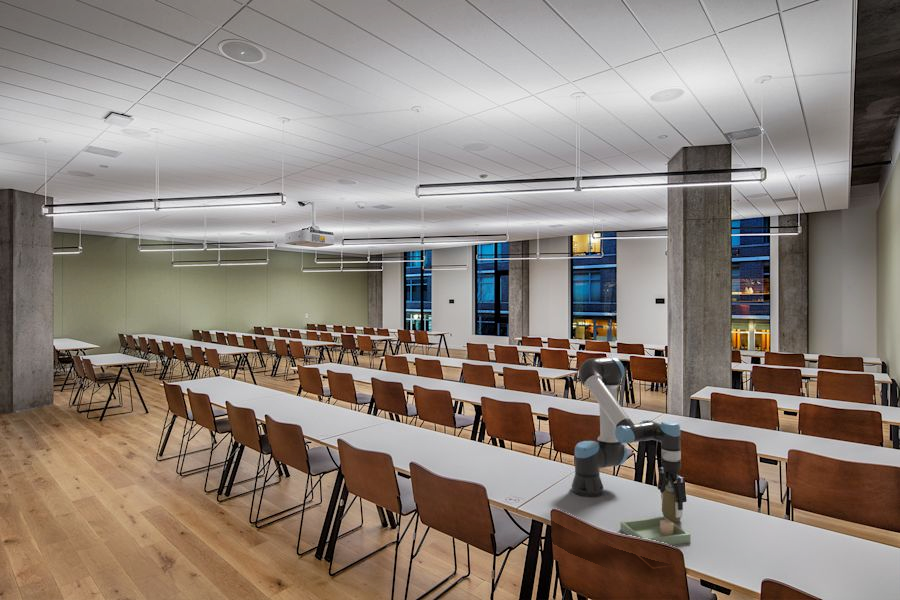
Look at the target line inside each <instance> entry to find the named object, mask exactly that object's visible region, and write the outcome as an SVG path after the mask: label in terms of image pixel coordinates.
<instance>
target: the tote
mask: <svg viewBox="0 0 900 600" xmlns="http://www.w3.org/2000/svg"><path fill="white" fill-rule="evenodd" d="M661 520H668V519H667V518H665V517H664V516H658V517H650V518H649V517H648V518H642V519H633V520H626V521H620V522H619V523H620V524H619V525H620V531H622V532H623V533H624V534H626V535H627V534H628V535H632V536H636V537H640V538H648V539H651V540H656V541H659V542H664V543H667V544H671V545H670V546H674V545H681V544H687V543H691V533H689V532H687V531H686V530H685V529H683V528H682V527H680V526H678V525H677V524H675V523H674V535H671V536H663V535H661V534H660V521H661ZM669 521H670V520H669ZM628 535H627V536H628Z"/></svg>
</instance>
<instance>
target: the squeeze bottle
mask: <svg viewBox="0 0 900 600" xmlns="http://www.w3.org/2000/svg"><path fill="white" fill-rule="evenodd" d="M675 501H677V500H676V496H675V493H674V489H673V485H671V482H670V481H669V484H668V485H666V490H664V491H663V500H662V499H661V512H662V513H661V514H662V515H663V516H662V517H665V518H667V519H668V520H670V521H672V522H673V523H679V522H680V521H681V519H682V517H679V518H676V515H675Z"/></svg>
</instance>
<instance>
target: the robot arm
mask: <svg viewBox="0 0 900 600" xmlns="http://www.w3.org/2000/svg"><path fill="white" fill-rule="evenodd" d="M578 375H579V380H580V382H581V384H582V385H583V386H584V389H586V390H589V393H591V395H592V396H593V397H594V399H595V400H596V402H597V404H598V405H599V426H600V427H599V431H600V435H599V436H598V437H597V441H595V440H583V441H579V442H578V443H576V445H575V447H574V453H573V454H574V476H573V480H572V482H571V491H572V493H574V494H575V493H576V495H578V496H581V497H588V498H590V497H591V498H592V497H593V498H594V497H599V496H602V495H603V494H604V485H603V482H602V479H601V476H600V469H605V468H609V467H618V466H621V465H623V464H624V463H625V462H626V461H627V459H628V449H627V447H626V444H632V443H637V442H646V441H652V440H653V441H657V442H658V443H659V442H660V446H661V447H660V448H661V450H660V451H661V461H660V462H661V467H659V468H658V479H657V480H658V482H657V489H658V490H659V491H660V494H661V495H660V496H661V497H660V498H661V501H662V500H663V491H664V490H666V485H668V484H669V481H670V482H671V485H673V489H674V493H675V496H676V500H677V501H675V515H676V518H679V517H681V518H683V510H684V505H683V503H687V494H686V493H687V492H686V486H685V477H684V476H683V477H682V476H680V470H681V469H682V461H681V459H682V451H681V450H682V449H681V436H682V435H681V434H682V433H681V425H680V424H679V423H678V422H676V421H670V420H665V421H662V422H660V423H659V422H656V421H654V420H648V419H644V420H642V421H641V422H639V423H634V422H633V420H631V418H630V416H629V415H628V413H626V411H625V410H624V409H623V407H622V406H621V405H620V403H619V402H618V387H620V385H621V384H620V383H621V381H622V379H623V378H624V377H625V368H624V364H623V363H622V362H621V360H620V359H619V358H617V357H614V356H613V357H609V356H608V357H607V356H606V357H597V358H594V357H592V358H588V359H586V360H584V361H583V362H582V363H581V365H580V366H579V371H578Z"/></svg>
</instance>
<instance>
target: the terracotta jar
mask: <svg viewBox="0 0 900 600" xmlns="http://www.w3.org/2000/svg"><path fill="white" fill-rule="evenodd" d="M674 524H675V522H672V521H669V520H661V521H660V534H661V535H663V536H671V535H674Z"/></svg>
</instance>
